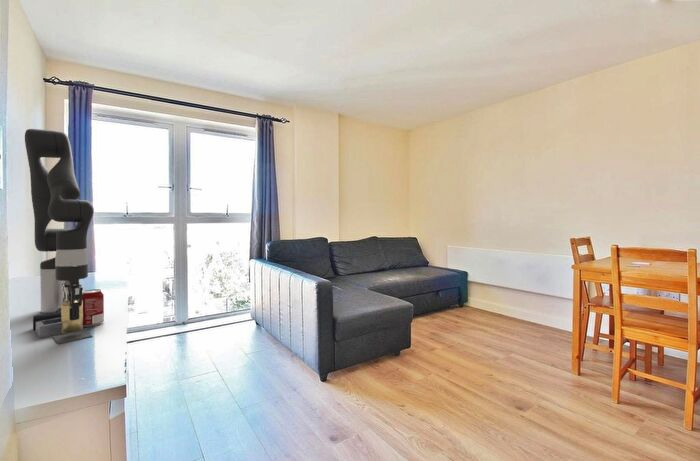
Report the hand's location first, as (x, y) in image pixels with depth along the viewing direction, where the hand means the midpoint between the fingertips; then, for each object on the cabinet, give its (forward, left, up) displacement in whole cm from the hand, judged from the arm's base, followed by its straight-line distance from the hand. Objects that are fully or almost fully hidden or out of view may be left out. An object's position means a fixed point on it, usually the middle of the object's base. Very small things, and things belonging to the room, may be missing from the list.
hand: (72, 317), depth 97 cm
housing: (-11, -2, -6) cm, 13 cm away
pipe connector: (-21, +2, -7) cm, 22 cm away
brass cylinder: (0, 0, -4) cm, 4 cm away
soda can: (-11, +7, -6) cm, 15 cm away
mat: (0, 0, -6) cm, 6 cm away
